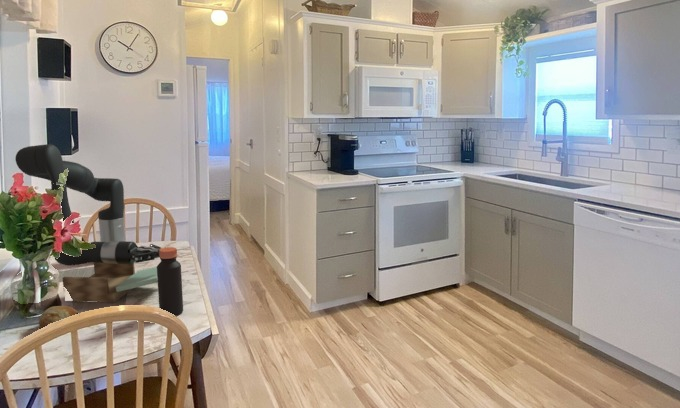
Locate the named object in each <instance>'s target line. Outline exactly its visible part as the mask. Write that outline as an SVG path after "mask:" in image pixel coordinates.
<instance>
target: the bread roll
mask: <svg viewBox="0 0 680 408" xmlns="http://www.w3.org/2000/svg"><path fill="white" fill-rule="evenodd" d="M78 313H79V312H78V311H77V310H76V309H75V308H73V307H71V306H65V305H57V306H56V305H55V306H54V305H53V306H51V307H49V308H47V309H46V310H44V311H43V312H42V313H41V315H40V317H38V318H39V319H38V328H39V329H41V328H43V327H45V326H47V325H48V324H50V323H53V322H56V321H59V320H61V319H64V318H67V317H69V316H72V315H75V314H78Z"/></svg>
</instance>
